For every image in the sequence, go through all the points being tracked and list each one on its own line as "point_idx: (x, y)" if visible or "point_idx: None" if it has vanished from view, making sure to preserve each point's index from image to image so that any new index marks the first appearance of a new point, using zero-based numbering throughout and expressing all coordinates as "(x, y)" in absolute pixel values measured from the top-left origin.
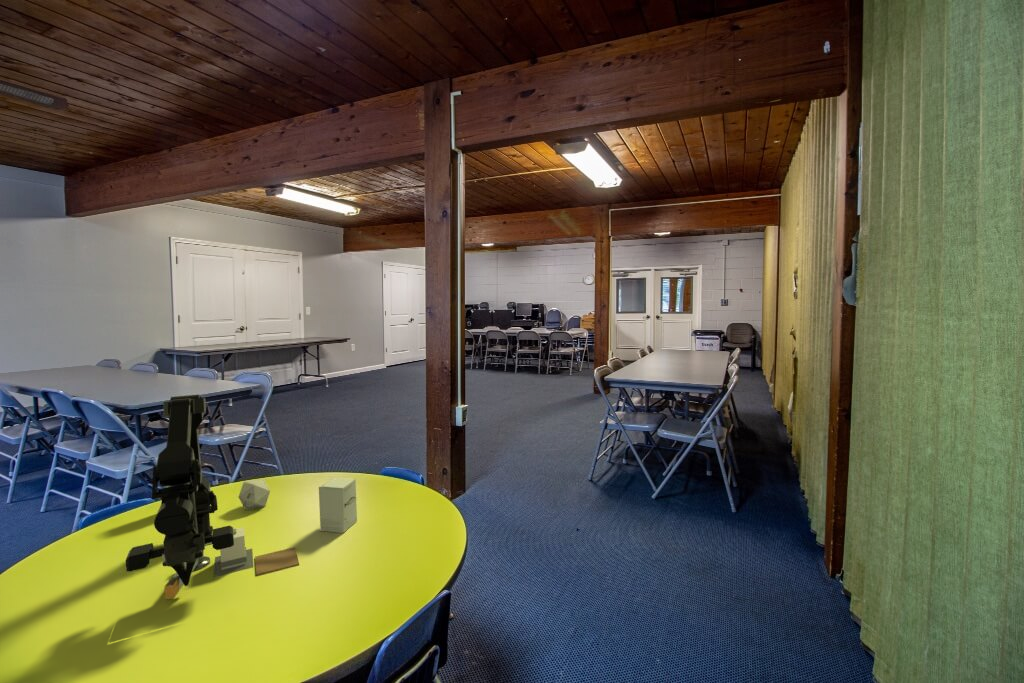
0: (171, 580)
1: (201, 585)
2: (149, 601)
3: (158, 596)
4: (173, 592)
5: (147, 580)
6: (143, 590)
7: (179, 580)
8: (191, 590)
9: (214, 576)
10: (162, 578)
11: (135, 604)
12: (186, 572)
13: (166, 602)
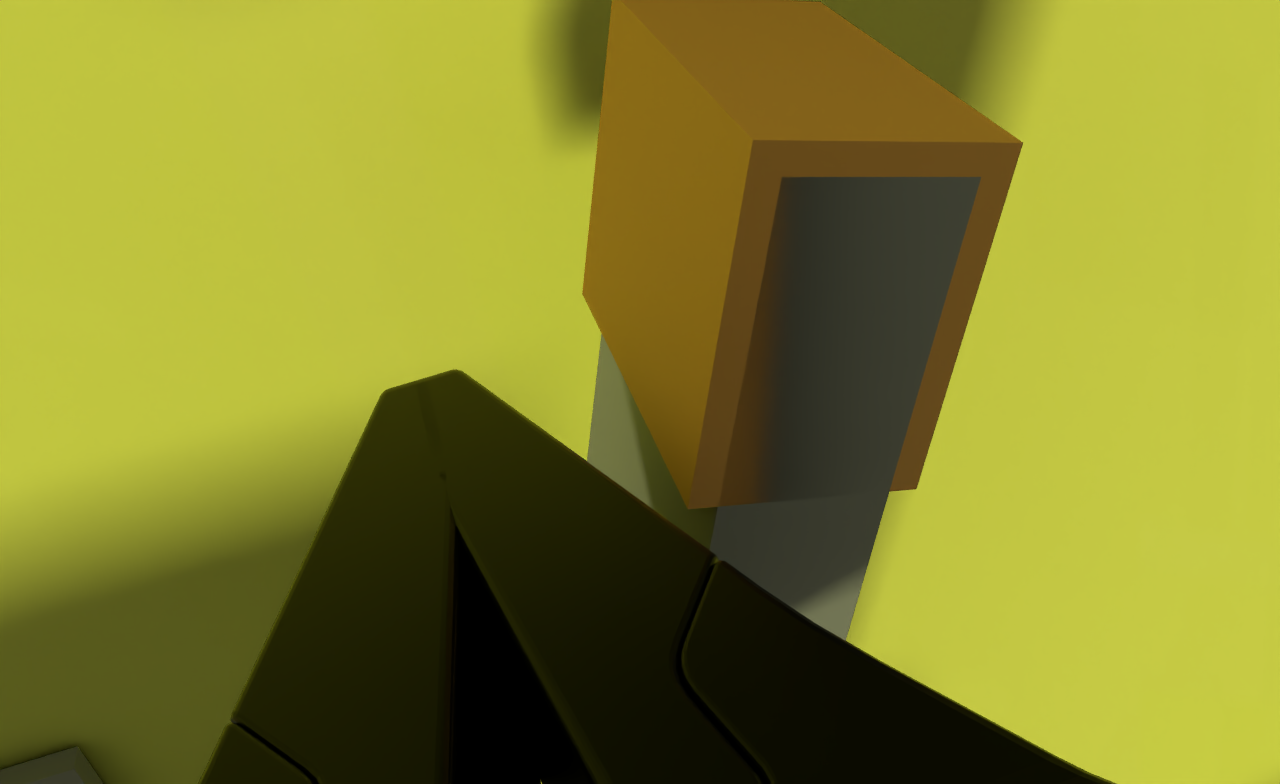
0: (860, 450)
1: (230, 558)
2: (1067, 221)
3: None
4: (673, 41)
5: (1108, 747)
6: (1151, 549)
7: None
8: None
9: (65, 781)
10: None
11: (1263, 186)
12: (427, 658)
13: None
